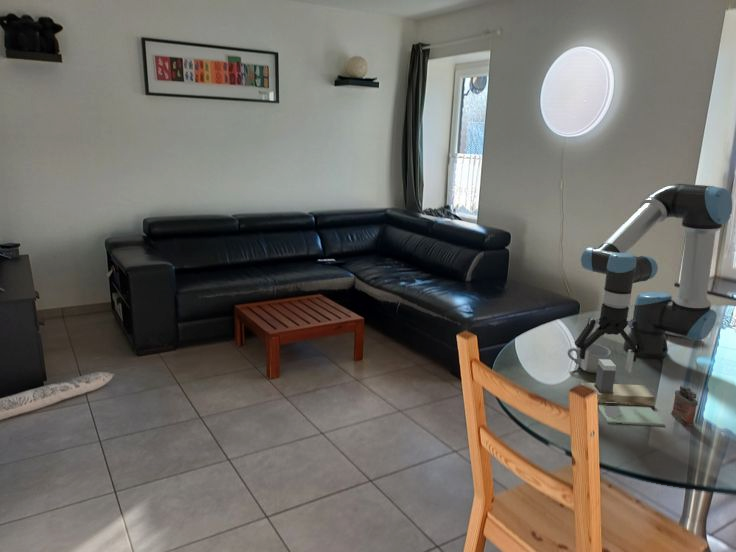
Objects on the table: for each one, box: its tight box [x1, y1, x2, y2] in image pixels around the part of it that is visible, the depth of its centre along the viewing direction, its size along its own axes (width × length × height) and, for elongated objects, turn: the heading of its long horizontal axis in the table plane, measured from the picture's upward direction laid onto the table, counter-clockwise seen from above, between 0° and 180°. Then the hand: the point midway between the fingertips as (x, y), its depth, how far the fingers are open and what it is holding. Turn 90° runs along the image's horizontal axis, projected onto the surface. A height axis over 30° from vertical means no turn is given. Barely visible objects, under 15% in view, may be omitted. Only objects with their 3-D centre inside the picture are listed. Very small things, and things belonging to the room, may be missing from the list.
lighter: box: [670, 385, 699, 428], centre depth 159 cm, size 8×3×10 cm, turn 5°
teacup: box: [567, 342, 611, 374], centre depth 193 cm, size 14×11×8 cm
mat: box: [598, 404, 666, 427], centre depth 162 cm, size 16×10×1 cm, turn 86°
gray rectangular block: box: [594, 359, 617, 393], centre depth 172 cm, size 4×5×12 cm
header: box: [579, 382, 656, 407], centre depth 173 cm, size 20×8×3 cm, turn 86°
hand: (605, 369), depth 171 cm, fingers open, 13 cm apart
